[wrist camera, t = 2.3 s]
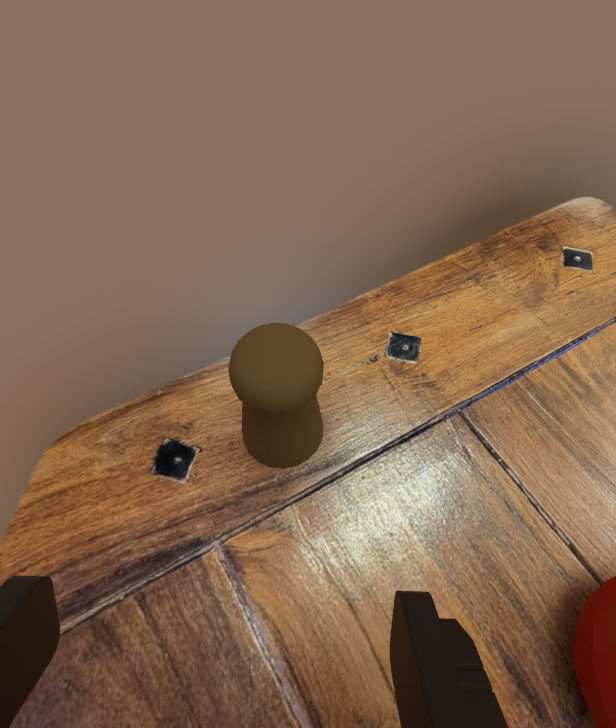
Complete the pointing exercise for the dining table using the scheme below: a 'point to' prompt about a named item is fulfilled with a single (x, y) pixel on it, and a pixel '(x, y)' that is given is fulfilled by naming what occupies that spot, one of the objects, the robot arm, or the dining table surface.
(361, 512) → the dining table surface
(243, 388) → the cork
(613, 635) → the apple
